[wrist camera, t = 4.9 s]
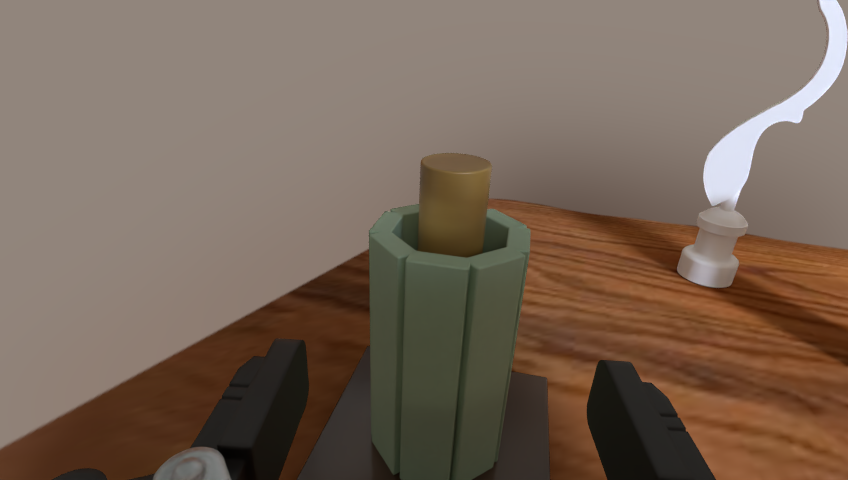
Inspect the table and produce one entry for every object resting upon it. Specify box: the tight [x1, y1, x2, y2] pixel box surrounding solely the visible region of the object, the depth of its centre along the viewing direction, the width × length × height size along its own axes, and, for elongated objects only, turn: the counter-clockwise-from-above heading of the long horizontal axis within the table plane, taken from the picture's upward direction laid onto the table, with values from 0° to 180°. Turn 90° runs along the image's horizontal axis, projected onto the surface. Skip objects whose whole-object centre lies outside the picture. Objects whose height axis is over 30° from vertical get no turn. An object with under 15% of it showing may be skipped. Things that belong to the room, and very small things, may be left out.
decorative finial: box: [677, 0, 847, 288], centre depth 33 cm, size 6×4×25 cm
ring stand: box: [297, 153, 550, 480], centre depth 19 cm, size 10×10×14 cm
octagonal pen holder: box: [369, 204, 530, 480], centre depth 19 cm, size 6×6×10 cm
